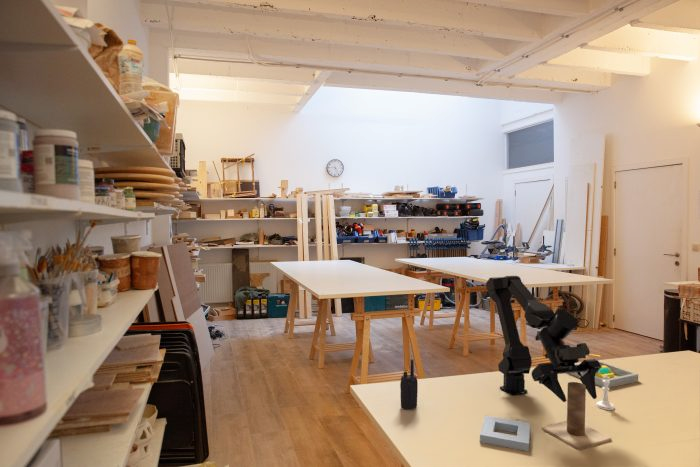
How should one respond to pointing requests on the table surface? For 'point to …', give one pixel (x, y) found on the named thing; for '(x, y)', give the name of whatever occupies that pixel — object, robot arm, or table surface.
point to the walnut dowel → (576, 408)
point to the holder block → (505, 439)
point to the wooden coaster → (578, 442)
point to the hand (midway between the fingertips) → (580, 400)
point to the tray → (623, 377)
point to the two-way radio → (409, 389)
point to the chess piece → (605, 396)
